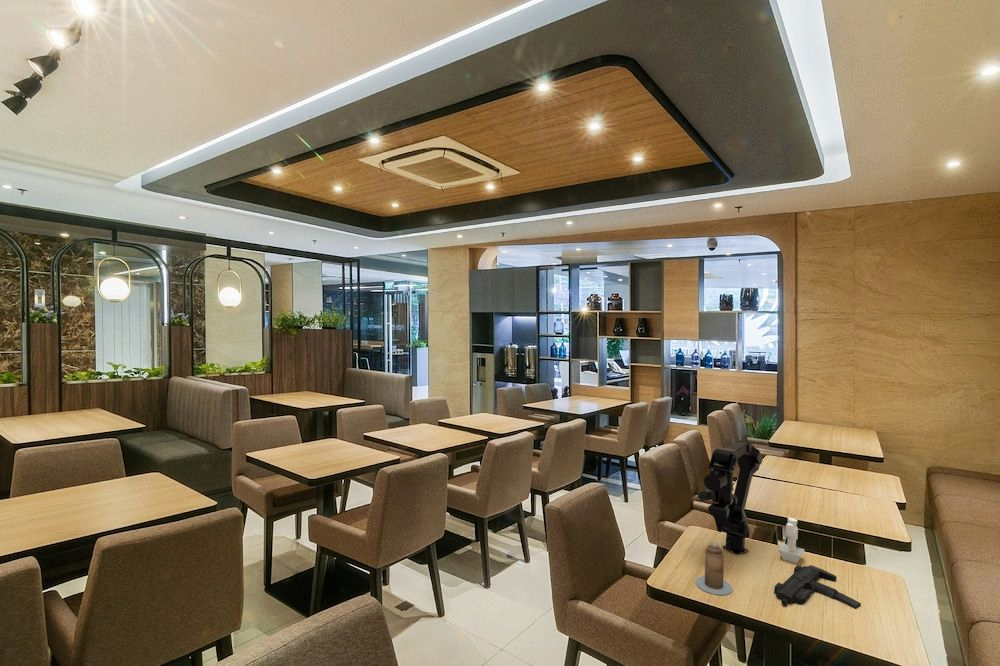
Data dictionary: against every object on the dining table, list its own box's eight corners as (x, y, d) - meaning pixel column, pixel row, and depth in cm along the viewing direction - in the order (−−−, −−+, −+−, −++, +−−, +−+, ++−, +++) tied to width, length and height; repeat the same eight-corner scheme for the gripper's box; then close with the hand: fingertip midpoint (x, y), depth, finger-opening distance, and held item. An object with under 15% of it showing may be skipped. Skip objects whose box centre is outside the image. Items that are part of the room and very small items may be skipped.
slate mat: (712, 574, 171) (712, 573, 171) (740, 590, 161) (740, 589, 161) (688, 581, 166) (688, 580, 166) (715, 598, 156) (715, 597, 156)
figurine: (805, 558, 184) (806, 517, 184) (799, 567, 177) (801, 525, 177) (782, 552, 189) (784, 512, 189) (776, 560, 182) (778, 519, 182)
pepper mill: (707, 578, 168) (708, 538, 167) (725, 583, 165) (726, 543, 164) (702, 585, 163) (703, 544, 163) (721, 591, 160) (722, 549, 160)
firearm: (842, 635, 141) (767, 600, 156) (869, 596, 162) (800, 569, 177) (843, 624, 141) (768, 590, 156) (870, 587, 162) (801, 560, 176)
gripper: (706, 474, 193) (705, 514, 194) (693, 486, 178) (692, 530, 179) (738, 479, 187) (737, 521, 187) (727, 493, 172) (725, 538, 172)
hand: (722, 527), depth 181 cm, fingers open, 9 cm apart
